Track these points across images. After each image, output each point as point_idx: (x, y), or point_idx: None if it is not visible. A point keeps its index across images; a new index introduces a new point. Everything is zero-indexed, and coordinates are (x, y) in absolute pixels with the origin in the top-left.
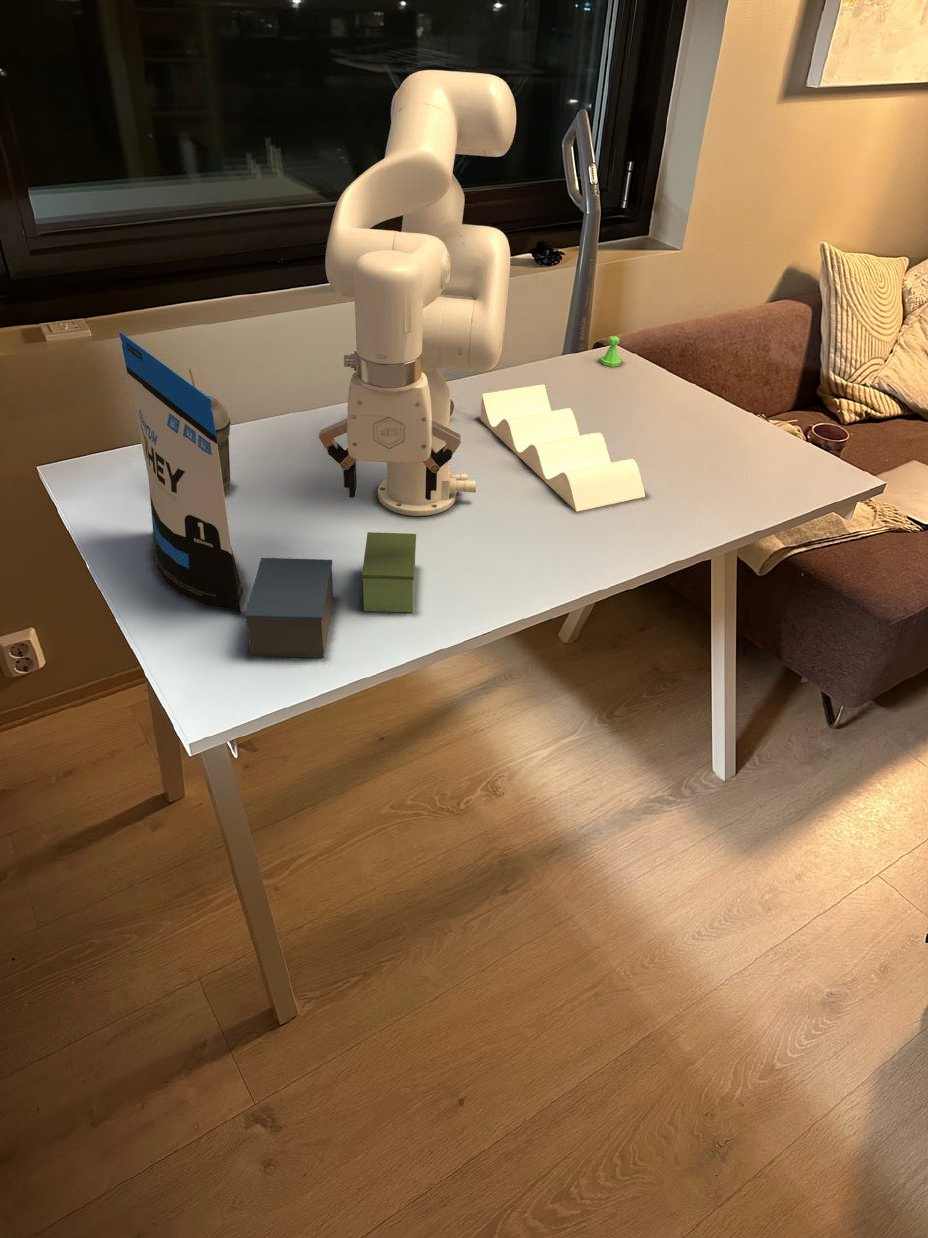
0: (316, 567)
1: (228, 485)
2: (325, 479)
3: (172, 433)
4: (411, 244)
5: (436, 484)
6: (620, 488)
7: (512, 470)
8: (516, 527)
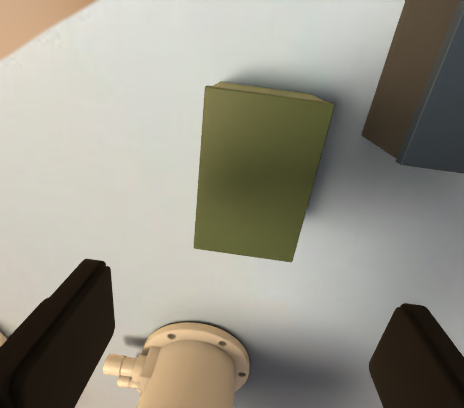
0: (451, 133)
1: None
2: (313, 398)
3: None
4: None
5: (26, 320)
6: None
7: None
8: (56, 287)
